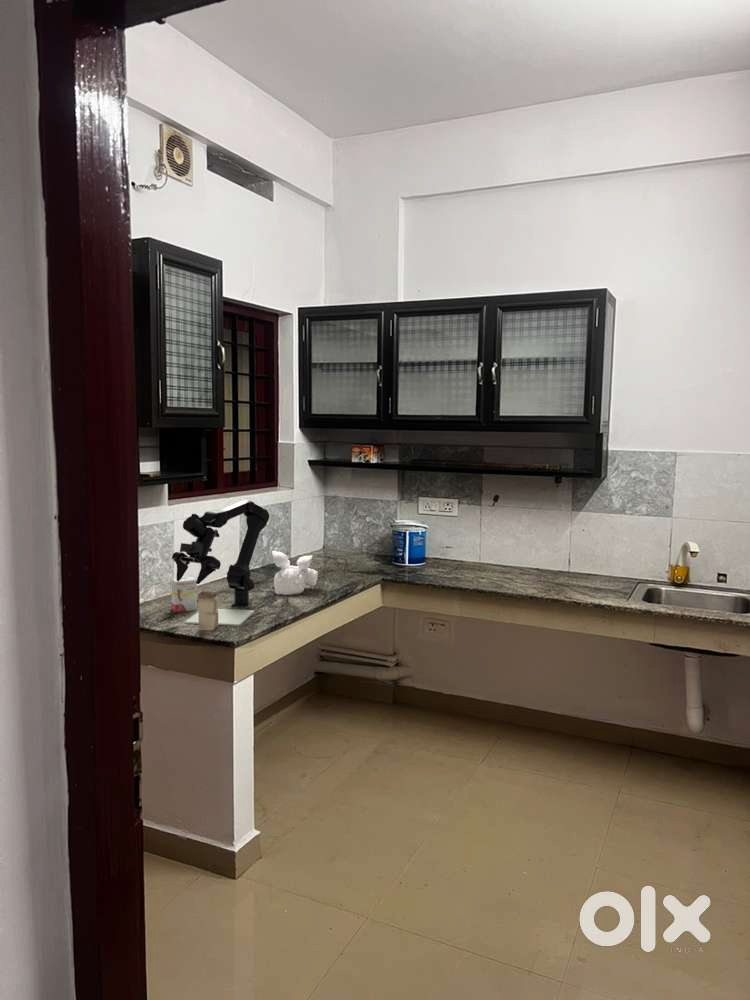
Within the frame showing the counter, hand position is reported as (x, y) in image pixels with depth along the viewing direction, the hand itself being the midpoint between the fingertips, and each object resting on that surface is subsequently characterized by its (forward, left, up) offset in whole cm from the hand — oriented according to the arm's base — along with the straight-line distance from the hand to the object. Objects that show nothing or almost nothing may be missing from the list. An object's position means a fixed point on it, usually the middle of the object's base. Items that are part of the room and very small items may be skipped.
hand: (187, 582), depth 262 cm
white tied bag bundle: (-54, +27, -15) cm, 62 cm away
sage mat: (-7, +10, -14) cm, 19 cm away
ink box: (-16, -7, -15) cm, 23 cm away
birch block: (+6, +10, -14) cm, 18 cm away
